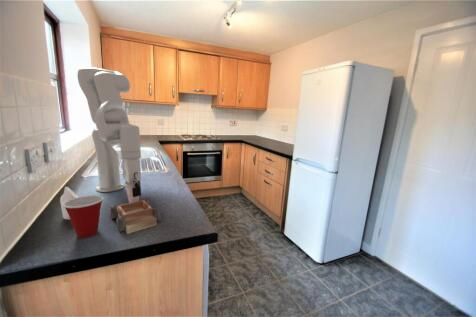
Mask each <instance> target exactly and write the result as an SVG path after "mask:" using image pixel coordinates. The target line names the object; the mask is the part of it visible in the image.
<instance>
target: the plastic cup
mask: <svg viewBox="0 0 476 317" xmlns="http://www.w3.org/2000/svg"><path fill="white" fill-rule="evenodd" d="M103 200H104V196H102V195H98V194H97V195H96V194H95V195H85V196H78V198H74V199H71V200H68V201H66V202H64V203H63V206H64V207H65V208H66V210H67V213H68V214H69V217H70V219H69V220H70V223H71V225H72V227H73V229H74V233H75V235H76V237H78V238H80V239H86V238H90V237H93V236H95V235H96V234H97V233H98V231H99V223H100V215H101V208H102V203H103Z"/></svg>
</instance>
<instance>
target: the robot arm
mask: <svg viewBox="0 0 476 317" xmlns="http://www.w3.org/2000/svg"><path fill="white" fill-rule="evenodd" d="M76 76H77V82H78V85H79V87H80V90H81V91H82V93H83V95H84V96H85V99H86V102H87V106H88V109H89V113H90V117H91V120H92V122H93V123H94V124H95V126H96V128H94V129H93V130H92V132H91V133H92V134H91V137H92V140H93V144H94V147H95V154H96V165H97V166H96V167H97V175H98V185H96V186H95V190H96V191H97V192H99V193H111V192H116V191H119V190H122V189H123V188H125V183H123V182H121V172H120V159H121V160H122V178H123V179H124V181H125V182H128V183H130V182H132V185H133V188H132V192H133V197H137V196H139V197H141V196H142V185H140V182H141V180H142V177H141V176H142V173H141V164H140V159H141V158H142V153H141V151H142V150H141V134H140V127H139V126H138V125H136V124H131V123H130V120H129V117H128V114H127V112H126V110H125V109H124V107H122V106H123V104H124V101H123V99H122V95H121V94H127V93H129V91H130V90H131V89H130V88H131V83H130V81H129V79H128V77H127V76H126V75H125V74H123V73H120V72H118V71H116V70H112V69H111V70H110V69H104V68H97V67H92V66H90V67H89V66H85V67H84V66H83V67H80V68H79V69H78V71H77V75H76ZM120 93H121V94H120ZM114 146H119V147H120V148H119V149H120V156H119V153H118V151H117V150H116V149H115V148H114ZM133 180H134V181H133ZM134 183H135V184H134Z"/></svg>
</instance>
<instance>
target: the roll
mask: <svg viewBox="0 0 476 317" xmlns="http://www.w3.org/2000/svg"><path fill="white" fill-rule="evenodd" d="M78 197H79V196H78V195H77V194H76V192H74V191H73V190H72V189H71V188H70V187H69V186H64V191H63V193H62V195H61V197H60V198H59V201H60V202H59V203H60V207H61V213H62V218H63V219H64V220H70V217H69V214H68V213H67V210H66V208H65V207H64V206H63V203H64V202H66V201H68V200H71V199H74V198H78Z"/></svg>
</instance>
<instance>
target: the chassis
mask: <svg viewBox="0 0 476 317" xmlns="http://www.w3.org/2000/svg"><path fill="white" fill-rule="evenodd" d="M109 215H110V219H111V220H113V219H116V226H117V230H118V232H119V233H121V232H124V231H125V233H126V235H129V234H132V233H135V232H139V231H141V230H144V229H147V228H148V229H149V228H151V227H155V226H157V225H158V223H157V222H158V221H160V220H161V212H160V209H159V208H158V207H155V208H153V207H152V206H151V205H150V200H149V199H148V198H143V199H141V200H139V201H136V202H132V203H129V202H128V203H122V204H118V205H116V204H115V205H111V206H109Z"/></svg>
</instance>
